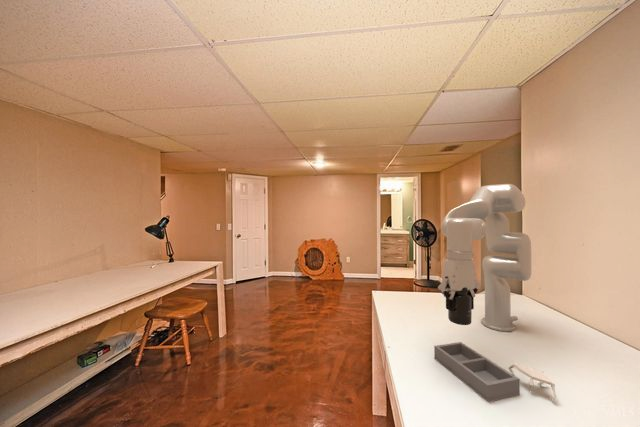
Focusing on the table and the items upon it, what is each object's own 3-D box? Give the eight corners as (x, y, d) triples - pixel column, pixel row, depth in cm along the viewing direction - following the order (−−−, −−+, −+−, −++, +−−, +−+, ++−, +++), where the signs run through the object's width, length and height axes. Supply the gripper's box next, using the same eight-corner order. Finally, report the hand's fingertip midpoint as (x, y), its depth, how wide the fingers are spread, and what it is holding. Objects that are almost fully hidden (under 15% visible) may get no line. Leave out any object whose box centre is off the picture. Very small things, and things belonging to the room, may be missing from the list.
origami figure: (562, 393, 71) (562, 375, 71) (555, 406, 66) (555, 387, 66) (511, 371, 81) (511, 356, 81) (501, 382, 76) (501, 365, 76)
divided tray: (460, 354, 91) (460, 341, 91) (519, 395, 70) (519, 378, 70) (434, 358, 88) (434, 345, 88) (487, 402, 68) (487, 385, 68)
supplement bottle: (475, 326, 80) (474, 289, 80) (451, 324, 81) (451, 287, 81) (467, 318, 87) (466, 283, 87) (445, 316, 88) (445, 282, 88)
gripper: (471, 253, 90) (471, 303, 90) (429, 255, 86) (429, 307, 86) (490, 256, 83) (490, 310, 83) (445, 258, 78) (445, 316, 78)
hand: (459, 308), depth 84 cm, fingers closed on supplement bottle, 6 cm apart
